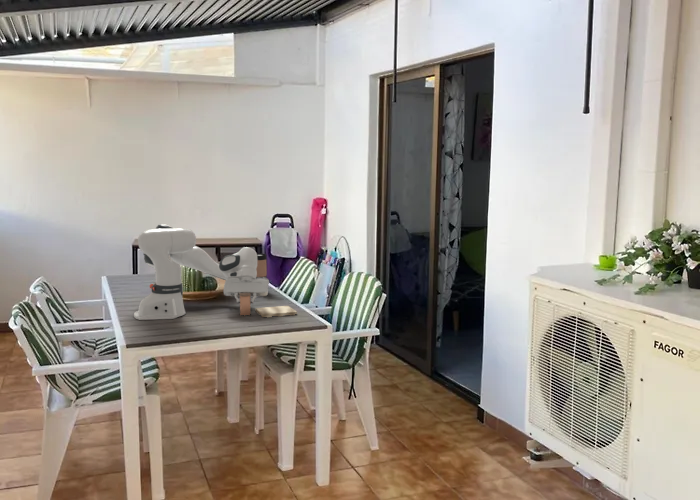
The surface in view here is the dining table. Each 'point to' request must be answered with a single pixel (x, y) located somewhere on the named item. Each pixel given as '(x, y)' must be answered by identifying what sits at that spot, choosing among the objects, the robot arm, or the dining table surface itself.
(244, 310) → the terracotta jar
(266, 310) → the birch board
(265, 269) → the travel mug
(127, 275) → the dining table surface
